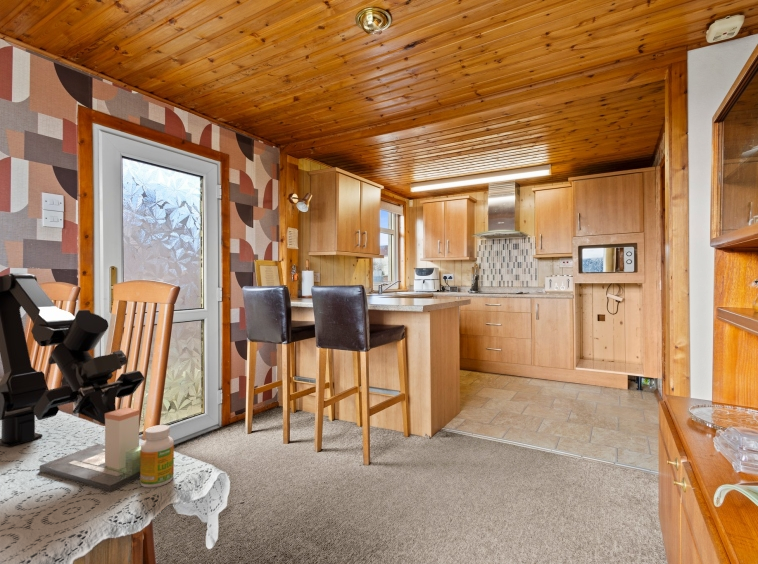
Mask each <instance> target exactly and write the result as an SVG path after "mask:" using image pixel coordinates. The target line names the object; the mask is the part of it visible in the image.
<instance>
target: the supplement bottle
mask: <svg viewBox="0 0 758 564" xmlns="http://www.w3.org/2000/svg"><path fill="white" fill-rule="evenodd" d="M144 439H145V440H144V441H142V443H141V445H140V446H141V450H140V478H139V479H140V481H139V482H140V483H139V484H140V485H141V486H142V487H143V488H158V487H162V486H164V485H166V484H168V483H169V482H171V481H172V480H173V478H174V471H175V469H174V465H175V464H174V462H175V460H174V456H175V455H174V454H175V450H174V449H175V448H174V447H175V445H174V444H175V442H174V439H173V437H171V436H170V426H169V425H168V424H158V425H153V426H150V427H147V428H146V429H145V430H144Z"/></svg>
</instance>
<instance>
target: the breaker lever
mask: <svg viewBox="0 0 758 564" xmlns="http://www.w3.org/2000/svg"><path fill="white" fill-rule="evenodd" d="M140 413H141V412H140V409H136V408H131V407H126V406H125V407H122V408H121V407H120V408H119V409H116V410H115V411H112V412H108V413H105V425H104V427H105V428H104V446H105V466H107V467H111V468H115V469H122V468H124V467H125V460H126V452H127V451H129V450H132V449H134V448H137V447H139V446H140Z"/></svg>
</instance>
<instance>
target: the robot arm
mask: <svg viewBox="0 0 758 564" xmlns="http://www.w3.org/2000/svg"><path fill="white" fill-rule="evenodd" d="M21 308H22V309H23V310H24V312H25V313H26V314H27V316H28V317H29V319H31V321H32V323H33V325H32V328H31V331H30V332H31V334H32V338H33V340H34V341H35V342H36V344H38V345H39V346H40V347H50V346H55V347H54V348H53V350H52V351H51V353H50V356H49V358H48V364H49V365H57V368H58V369H59V371H60V372H61V374H62V376H63V378H62V379H61V380H60V382H61V384H62V385H64V386H59V387H56V388H52V389H49V387H48V384H47V382H46V377H45V376H46V375H45V373H44V372H43V371H42V370H39V371H37V369H35V368H34V367H33V366H32V362H31V358H30V353H29V348H28V343H27V338H26V333H25V328H24V323H23V319H22V315H21ZM108 329H109V323H108V321H107V319H105V318H104V317H102V316H101V315H99V314H96V313H93V312H91V310H90V309H79V310H78V311H77V313H76V314H75V316H74V315H73V314H72V313H71V312H68V311H66V310H63V309H60V308H58V307H57V305H56V304H55V303H54V301H52V299H51V297H49V296H48V294H47V293H46V291H45V290H44V289H43V288H42V286H41V285H40V284H39V283H38V278H37V277H36V275H35V274H31V273H12V272H11V273H9V274H4V275H0V359H1V364H2V369H3V376H2V378H1V380H0V421H1V437H0V445H1V446H4V447H8V448H10V447H14V446H17V445H20V444H23V443H24V444H25V443H27V442H30V441H33V440H36V439H40V438H42V437H43V434H41V433H38V432H36V419H37V420H38V421H42V420H46V419H49V418H53V417H55V416H56V415H57V414H58V412H59V411H60V408H59V406H64V405H68V404H71V403H73V404H74V409H73V410H72V414H74V415H75V414H77V415H78V414H79V415H82V416H85V417H88V418H90V419H92V420H95V421H96V422H98V423H100V424H102V425H104V426H105V413H108V412H112V411H115V410H117V409H116V398H118V399H121V398H125V397H129V396H131V395H133V394H134V393H135V392H136V391H137V390H138V388H139V387H140V385H141V384H142V383H143V382H144V381H145V379H146V377H145V376H144V375H143V373H142V372H141V371H140V370H133V371H128V372H124V373H121V374H120V375H119V376H118V378H117V379H116V380H115V381H112V382H108V380H111V379H113V377H114V375H113V373H114V372H116V371H118V370H121V369H123V368H122V367H123V366H125V365H126V364H128V358H127V355H126V354H125V353H124V352H123V350H121V349H120V350H115V351H113V352H112V353H109V354H105V355H99V356H96V357H93V356H92V354H91V352H90V351H92V350H94V349H95V348H96V347H97V345H98V344H99V342H100V341H101V339H102V338H103V337H104V335H105V333H106V332H107V330H108ZM35 417H36V418H35Z"/></svg>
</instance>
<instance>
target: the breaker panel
mask: <svg viewBox="0 0 758 564" xmlns="http://www.w3.org/2000/svg"><path fill="white" fill-rule="evenodd" d="M140 450H141V445H139V447H137V448H134V449H132V450H129V451H127V452H126V460H125V467H124V468H122V469H115V468H111V467H107V466H105V444H98V443H97V444H95V445H92V446H88V447H86V448H84V449H81V450H78V451H75V452H72V453H70V454H67V455H64V456H62V457H59V458H57V459H54V460H51V461H48V462H46V463H42V464H40V465H39V473H42V474H45V475H49V476H52V477H56V478H60V479H63V480H65V481H68V482H73V483H76V484H80V485H84V486H87V487H91V488H94V489H97V490H100V491H102V492H103V491H104V492H108V493H112V492H114V491H116V490H118V489H120V488H123V487H124V486H126V485H128V484H131V483H132V482H135V481H136V480H139V479H140Z"/></svg>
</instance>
